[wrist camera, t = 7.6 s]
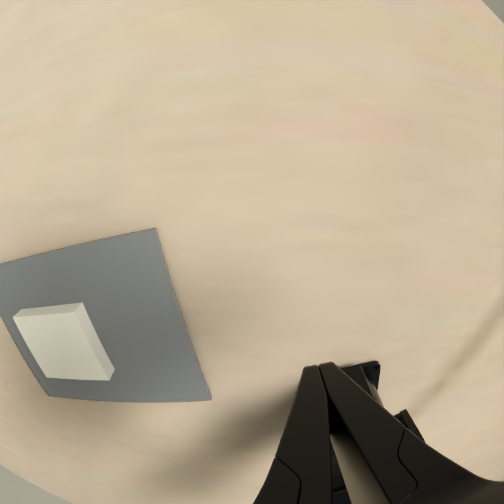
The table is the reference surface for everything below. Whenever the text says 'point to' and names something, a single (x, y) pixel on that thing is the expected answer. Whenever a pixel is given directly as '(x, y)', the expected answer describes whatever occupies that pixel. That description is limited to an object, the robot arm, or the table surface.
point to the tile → (64, 342)
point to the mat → (111, 317)
